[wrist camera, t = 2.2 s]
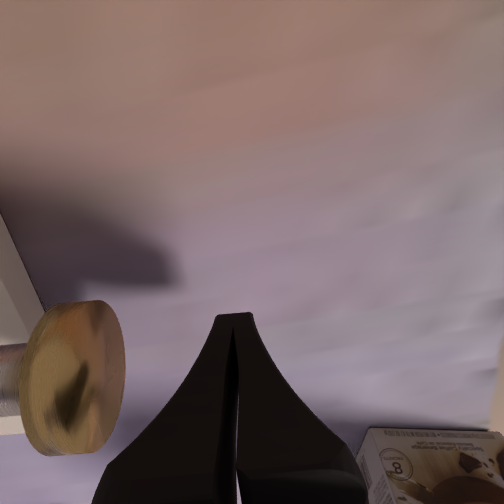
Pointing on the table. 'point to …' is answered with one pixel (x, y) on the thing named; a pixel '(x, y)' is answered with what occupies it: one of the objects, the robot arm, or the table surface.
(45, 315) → the shaft
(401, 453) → the coffee box
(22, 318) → the shaft housing
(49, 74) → the table surface
